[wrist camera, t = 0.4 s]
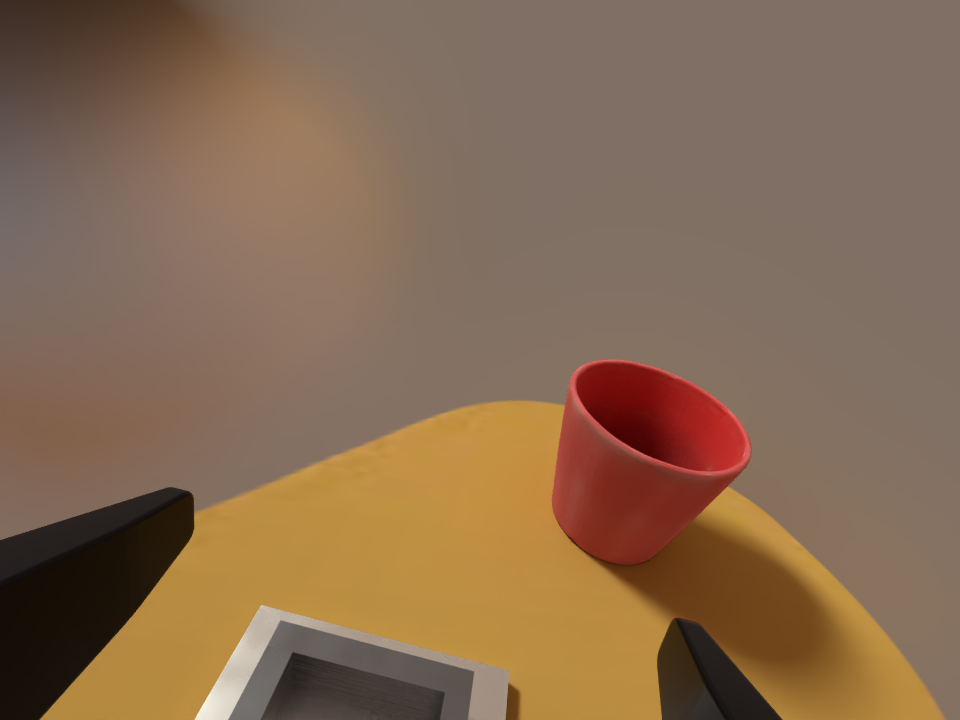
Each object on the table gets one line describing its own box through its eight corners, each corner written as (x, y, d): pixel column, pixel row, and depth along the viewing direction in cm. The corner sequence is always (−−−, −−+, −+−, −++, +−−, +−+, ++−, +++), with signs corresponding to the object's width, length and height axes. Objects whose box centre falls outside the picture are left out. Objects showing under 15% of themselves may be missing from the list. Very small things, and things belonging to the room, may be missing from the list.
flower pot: (536, 577, 27) (590, 453, 23) (524, 451, 37) (560, 345, 32) (706, 603, 28) (793, 489, 23) (652, 474, 38) (706, 374, 33)
